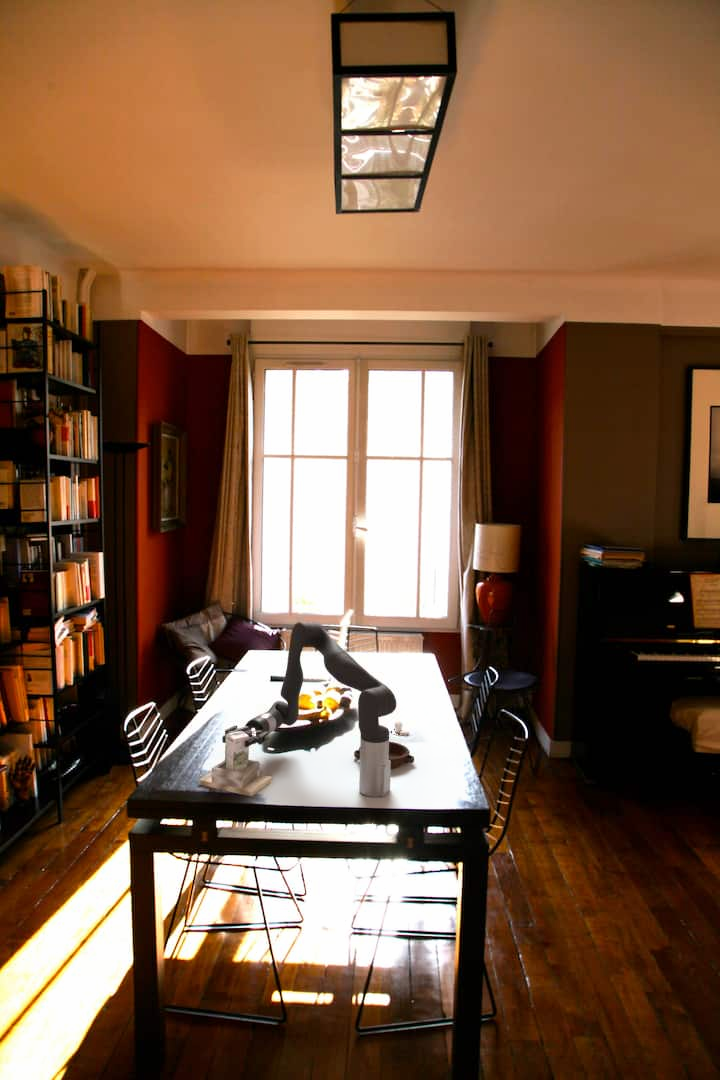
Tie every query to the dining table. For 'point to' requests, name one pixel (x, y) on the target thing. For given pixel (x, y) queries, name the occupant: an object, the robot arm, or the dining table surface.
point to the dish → (395, 754)
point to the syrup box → (236, 751)
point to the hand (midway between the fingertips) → (234, 742)
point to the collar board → (237, 779)
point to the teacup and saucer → (399, 729)
